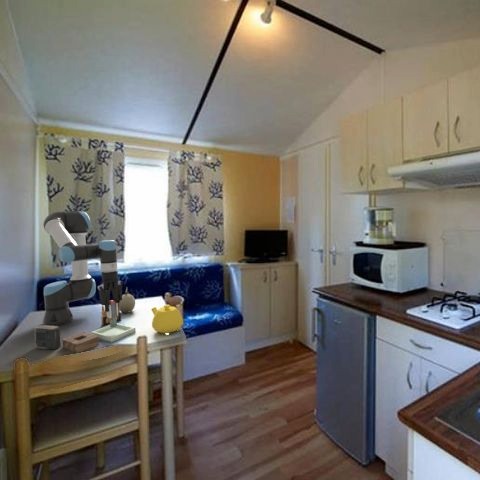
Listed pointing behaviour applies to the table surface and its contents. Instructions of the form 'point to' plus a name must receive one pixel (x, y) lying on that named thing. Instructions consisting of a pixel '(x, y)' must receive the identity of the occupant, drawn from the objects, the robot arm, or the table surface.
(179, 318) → the teapot
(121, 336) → the tray
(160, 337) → the table surface
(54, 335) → the camera
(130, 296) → the fruit
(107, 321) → the ammunition clip
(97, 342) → the slotted wooden block
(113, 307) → the pin
